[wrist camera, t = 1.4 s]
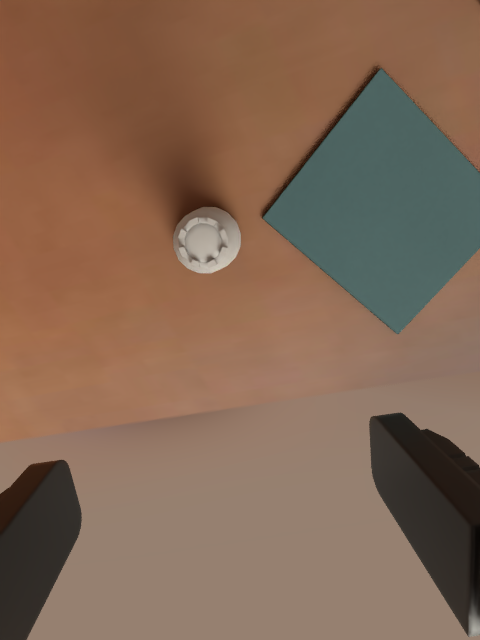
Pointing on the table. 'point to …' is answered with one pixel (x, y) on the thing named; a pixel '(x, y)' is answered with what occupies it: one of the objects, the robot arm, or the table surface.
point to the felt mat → (384, 205)
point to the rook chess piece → (207, 240)
